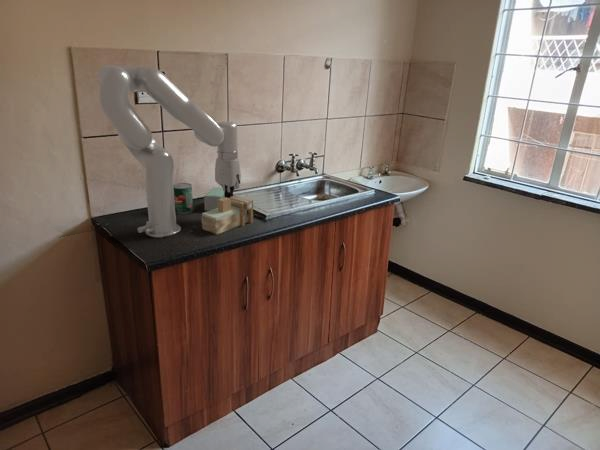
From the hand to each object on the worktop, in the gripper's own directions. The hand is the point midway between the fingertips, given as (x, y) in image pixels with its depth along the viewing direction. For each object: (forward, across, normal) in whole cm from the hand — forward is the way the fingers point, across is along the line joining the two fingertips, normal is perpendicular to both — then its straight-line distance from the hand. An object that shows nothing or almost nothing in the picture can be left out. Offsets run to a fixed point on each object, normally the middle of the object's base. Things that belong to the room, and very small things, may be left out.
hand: (229, 200), depth 177 cm
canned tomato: (+8, -22, -5) cm, 24 cm away
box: (+8, -14, +7) cm, 18 cm away
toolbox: (+8, +5, -7) cm, 12 cm away
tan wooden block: (+1, +7, 0) cm, 7 cm away
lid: (+2, +5, -7) cm, 9 cm away
